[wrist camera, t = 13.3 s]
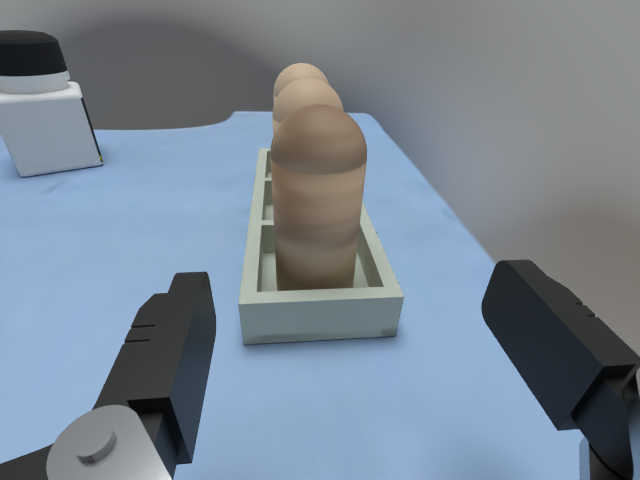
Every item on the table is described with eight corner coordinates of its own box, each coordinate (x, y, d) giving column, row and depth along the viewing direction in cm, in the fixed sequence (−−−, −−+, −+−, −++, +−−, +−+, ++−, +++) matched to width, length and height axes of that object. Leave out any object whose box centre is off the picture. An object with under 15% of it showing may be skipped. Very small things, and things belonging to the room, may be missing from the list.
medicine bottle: (104, 165, 37) (62, 34, 31) (20, 178, 34) (-47, 34, 27) (98, 146, 42) (61, 29, 36) (24, 155, 39) (-32, 28, 32)
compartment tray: (395, 335, 19) (439, 131, 13) (243, 344, 18) (216, 130, 12) (337, 174, 37) (345, 58, 31) (260, 175, 36) (253, 56, 30)
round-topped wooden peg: (262, 276, 22) (249, 100, 16) (323, 252, 24) (330, 91, 18) (304, 322, 19) (305, 125, 13) (369, 290, 21) (394, 110, 15)
